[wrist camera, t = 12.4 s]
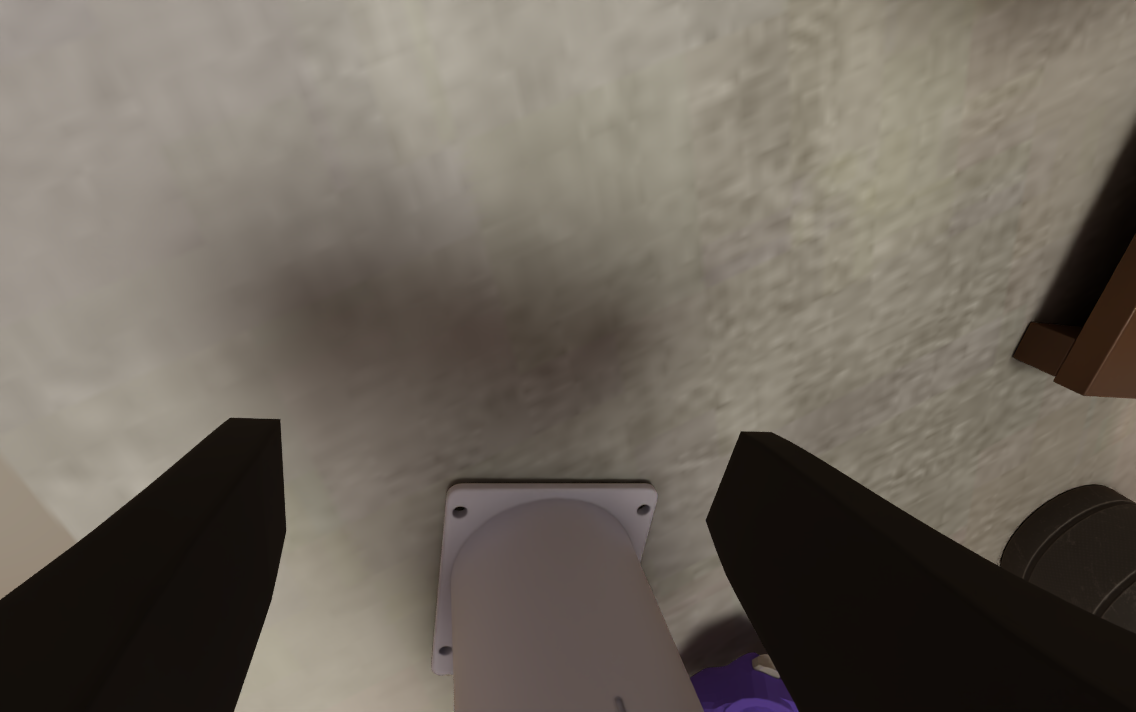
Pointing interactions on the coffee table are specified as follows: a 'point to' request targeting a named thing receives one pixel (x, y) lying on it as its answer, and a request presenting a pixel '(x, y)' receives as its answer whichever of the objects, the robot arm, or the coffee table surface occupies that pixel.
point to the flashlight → (1082, 552)
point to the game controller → (743, 687)
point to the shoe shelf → (1092, 341)
